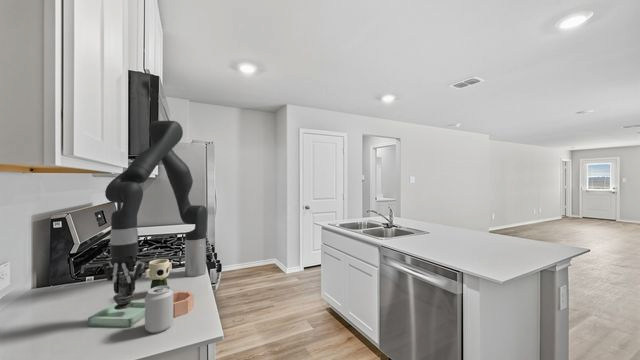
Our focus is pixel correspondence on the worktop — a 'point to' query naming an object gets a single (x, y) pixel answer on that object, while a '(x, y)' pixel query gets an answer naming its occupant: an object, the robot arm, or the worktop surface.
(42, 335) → the worktop surface
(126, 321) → the tray
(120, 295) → the grey lumpy tower
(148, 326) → the can
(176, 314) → the orange polygonal bowl
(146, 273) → the character mug
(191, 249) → the robot arm
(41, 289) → the worktop surface
